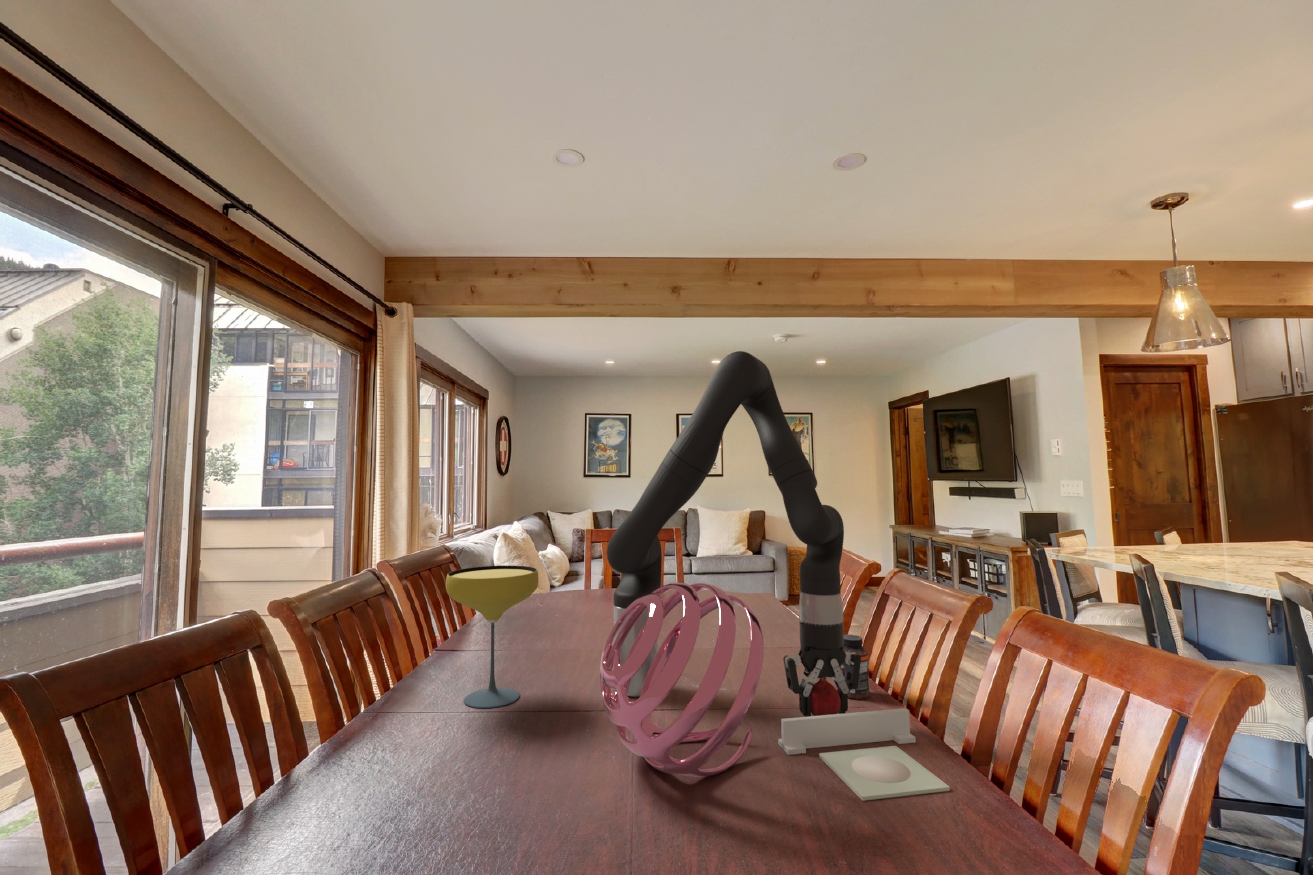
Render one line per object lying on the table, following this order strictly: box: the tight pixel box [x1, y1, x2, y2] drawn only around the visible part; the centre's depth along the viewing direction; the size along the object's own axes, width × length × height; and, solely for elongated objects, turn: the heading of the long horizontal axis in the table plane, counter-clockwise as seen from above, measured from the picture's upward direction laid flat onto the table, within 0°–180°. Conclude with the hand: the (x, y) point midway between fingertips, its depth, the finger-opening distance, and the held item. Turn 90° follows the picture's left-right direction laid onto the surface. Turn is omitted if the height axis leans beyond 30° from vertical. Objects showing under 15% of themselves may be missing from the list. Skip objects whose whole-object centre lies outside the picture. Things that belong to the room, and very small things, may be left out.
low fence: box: [777, 707, 917, 756], centre depth 97 cm, size 22×4×4 cm, turn 100°
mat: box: [818, 745, 951, 802], centre depth 87 cm, size 13×13×1 cm
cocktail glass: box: [445, 565, 539, 710], centre depth 119 cm, size 18×18×25 cm
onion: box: [809, 677, 841, 716], centre depth 105 cm, size 6×6×8 cm
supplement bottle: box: [840, 634, 870, 700], centre depth 119 cm, size 6×6×11 cm
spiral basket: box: [599, 582, 764, 778], centre depth 93 cm, size 28×28×27 cm
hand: (823, 714), depth 105 cm, fingers closed on onion, 5 cm apart
